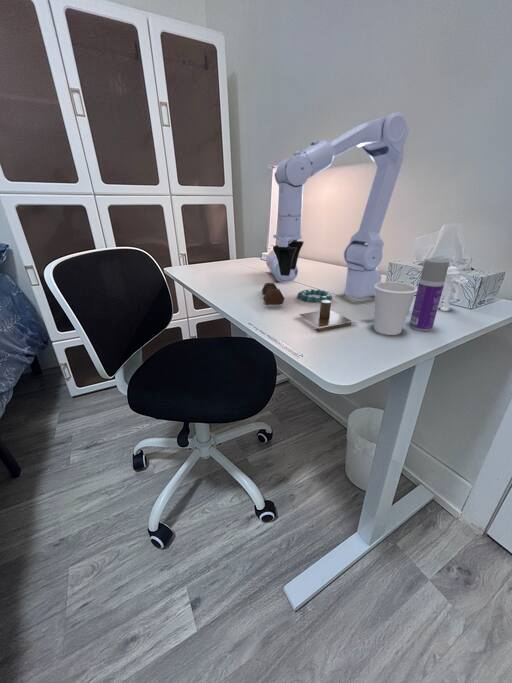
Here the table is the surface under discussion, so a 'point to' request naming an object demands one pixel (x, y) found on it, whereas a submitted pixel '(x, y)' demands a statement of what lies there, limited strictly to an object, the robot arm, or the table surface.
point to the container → (428, 294)
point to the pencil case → (274, 268)
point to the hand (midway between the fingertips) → (288, 272)
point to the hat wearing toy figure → (451, 286)
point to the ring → (323, 294)
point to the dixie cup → (392, 306)
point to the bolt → (272, 294)
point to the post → (326, 317)
